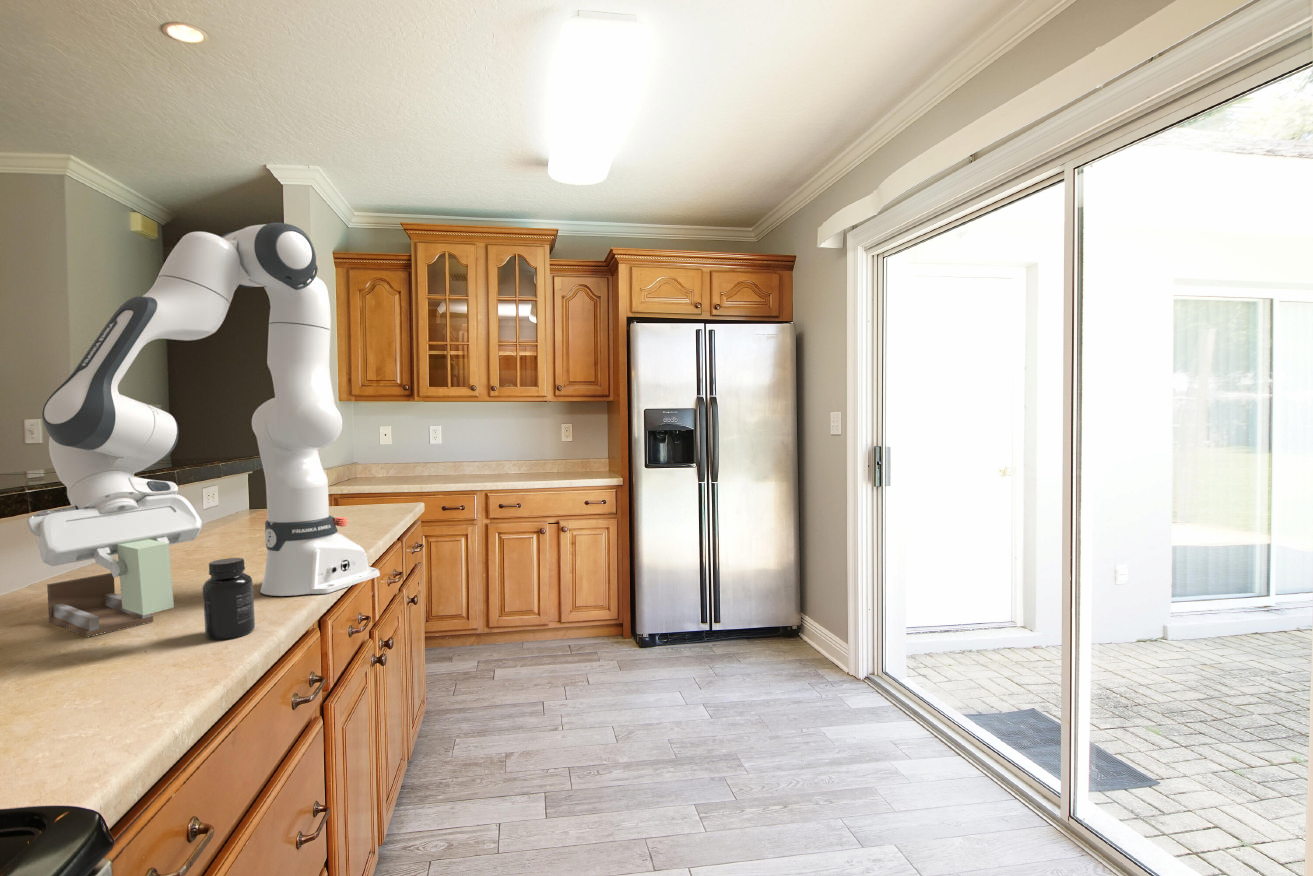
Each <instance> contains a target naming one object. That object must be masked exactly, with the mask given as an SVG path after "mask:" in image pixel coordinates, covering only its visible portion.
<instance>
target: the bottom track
mask: <svg viewBox="0 0 1313 876" xmlns="http://www.w3.org/2000/svg"><path fill="white" fill-rule="evenodd" d="M46 588H47V590H46V591H47V607H48V611H47V612H48V622H49V623H51V622H52V624H54V625H56V626H58V625H60V626H59V627H61V626H62V627H61V628H63V627H65V628H64V629H66V628H67V629H66V630H68V629H70V630H72V631H71V632H73V631H74V632H73V633H75V632H77V633H76V634H78V633H79V634H78V635H80V634H82V635H81V636H83V635H84V636H83V637H85V636H87V637H88V636H93V635H96V634H100V633H104V632H109V633H111V632H110V631H113V632H115V631H114V630H117V631H119V630H118V629H121V630H125V629H124V628H126V629H128V628H127V627H130V628H132V627H131V626H134V627H136V626H135V625H138V626H140V625H139V624H142V625H144V624H143V623H146V624H148V623H147V622H150V623H153V622H154V616H153V615H152V613H150V614H147V615H141V614H138V613H135V612H132V611H129V610H126V609H123V608H122V597H121V594H118V593H116V589H115V577H113V576H112V573H111V572H109V573H104V574H98V575H93V576H87V577H81V578H75V579H70V580H66V581H65V580H63V581H59V582H54V583H47V584H46ZM70 630H69V631H70ZM87 637H86V638H87ZM93 637H94V636H93Z"/></svg>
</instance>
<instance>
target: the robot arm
mask: <svg viewBox="0 0 1313 876" xmlns="http://www.w3.org/2000/svg"><path fill="white" fill-rule="evenodd" d="M318 270H319V269H318V265H317V254H316V250H315V247H314V246H313V242H312V241H311V239H310V237H309V236H308V235H307V233H306V232H305V231H304V230H302V229H301V228H300V227H298V226H296V225H292V224H290V223H284V222H270V223H269V222H268V223H266V224H255V225H250V226H246V227H244V228H242V229H238V230H236V231H230V232H227V233H224V234H223V235H221V236H219V235H217V234H214V233H211V232H207V231H192V232H191V231H190V232H189V233H186V234H185V235H183V236H182V237H181V238H180V240H179V241H178V242H177V243H176V245H175V246H174V248H172V250H171V252H170V253H169V254H168V256H167V258H166V260H165V262H164V263H163V265H162V267H161V269H160V271H159V273H158V276H157V277H156V280H155V282H154V283H153V285H152V287H151V288H150V289H149V290H148V291H147V292H146V293H145V294H143V295H142V296H134V297H131V298H129V299H127V300H126V301H125V302H124V303H122V304H121V305H120V306H119V308H118V309H116V310H115V312H114V313H113V315H112V316H111V317H110V319H109V320H108V321H107V323H106V324H105V326H104V327H103V328H102V329H101V330H100V332H99V334H98V336H97V337H96V339H95V340H94V341H93V343H91V346H89V348H88V350H87V351H86V353H85V354H84V356H83V357H82V359H81V360H80V361H79V363H78V364H77V366H76V367H75V369H73V370H72V373H71V374H70V375H69V377H67V379H66V380H65V381H64V382H63V383H62V384H60V386H59V387H57V389H55V390H54V392H53V393H51V395H50V396H49V397H48V399H47V400H46V402H44V406H43V408H42V421H43V425H44V427H45V430H46V432H47V434H48V435H49V439H48V451H49V457H50V460H51V464H52V465H53V467H54V470H55V473H56V475H57V477H58V479H59V481H60V482H61V483H62V484H63V485H64V486H65V487H66V495H67V499H68V501H69V503H70V506H65V507H60V508H55V509H43V510H39V511H37V512H36V513H35V514H33V515H31V516H30V517H28V519H27V525H28V527H29V531H30V532H31V533H32V534H33V535H34V536H36V537H37V544H38V545H37V546H38V551H39V554H40V555H39V556H40V558H41V560H42V562H43V563H44V564H47V565H49V566H51V567H56V566H62V565H68V564H72V563H77V562H78V563H79V562H83V561H89V560H93V559H94V561H95V564H98V565H99V566H100V567H103V568H105V569H107V570H108V571H110V573H112V576H113V577H114V578H118V577H120V576H123V575H126V572H127V571H128V568H127V566H126V565H125V564H126V563H125V561H124V560H122V561H118V559H115V558H114V557H112V556H115V555H118V550H117V544H123V543H128V542H134V541H140V540H145V539H150V540H155V541H160V542H165V543H169V546H170V545H173V544H174V545H175V544H179V543H185V542H190V541H193V540H196V539H197V537H198V535H199V533H200V532H201V529H202V527H203V522H202V519H201V517H200V516H199V514H198V513H197V510H196V509H195V507H193V505H192V504H191V502H190V501H189V500H188V499H187V498H186V497H184V496H182V495H180V494H178V491H179V488H178V485H177V484H176V483H175V482H173V481H167V480H156V479H148V478H143V477H138V476H135V474H138V473H141V472H143V471H145V470H147V469H149V468H150V467H152V466H154V465H155V464H157V463H159V462H160V461H162V460H164V458H166V457H167V456H169V455H170V454H171V453H172V452H173V450H174V449H175V447H176V445H177V443H178V440H179V426H178V422H177V420H176V419H175V417H174V416H173V415H172V414H171V413H169V412H167V411H165V410H163V409H160V408H158V407H155V406H153V405H150V404H148V403H145V402H144V401H143V402H142V401H139V400H136V399H133V398H130V397H128V396H125V395H124V394H120V392H119V384H120V382H121V381H122V379H123V377H124V376H125V374H126V373H127V371H128V369H129V368H130V366H131V365H132V364H133V362H134V361H135V359H136V358H137V356H138V355H139V353H140V351H141V350H142V349H143V348H144V346H145V345H147V344H148V343H150V342H152V341H155V340H160V339H161V340H162V339H163V340H166V339H167V340H173V341H174V340H176V341H196V340H201V339H204V338H207V337H209V336H211V335H213V334H215V333H216V332H217V331H218V329H219V328H220V327H221V326H222V324H223V322H224V320H225V319H226V316H227V313H228V311H229V308H230V307H231V302H232V300H233V298H234V294H235V291H236V290H237V288H239V287H240V288H247V289H248V288H254V287H255V288H257V287H260V288H261V287H263V289H264V290H265V292H266V294H267V296H268V298H269V299H268V300H269V305H270V306H269V307H270V309H269V318H268V337H267V357H266V360H267V361H266V363H267V367H268V369H269V372H270V375H271V378H272V384H273V391H274V397H273V398H270V399H269V400H268V399H267V400H266V401H264V402H263V403H262V404H261V405H259V406H258V407H257V408H256V409H255V411H254V413H253V414H252V418H251V428H252V431H253V433H254V434H255V437H256V441H257V447H258V452H259V456H260V457H259V458H260V460H261V464H262V468H263V473H264V479H265V491H266V515H267V516H266V517H267V519H266V521H265V522H264V523H265V524H264V534H265V535H264V536H265V537H264V538H265V539H264V540H265V545H266V547H265V548H266V549H267V550H266V551H267V552H266V562H265V569H264V575H263V580H262V584H261V586H260V591H259V592H260V593H262V595H267V596H274V597H275V596H277V597H285V596H289V597H290V596H301V595H311V594H312V595H317V594H318V595H321V594H329V593H333V592H336V591H338V590H343V589H344V588H347V587H350V586H354V585H356V584H359V583H362V582H365V581H368V580H372V579H374V578H377V577H380V575H381V574H380V570H379V569H378V568H375V567H372V566H369V561H368V555H367V553H366V551H365V549H364V548H363V547H362V545H359V544H358V543H356V542H354V541H352V540H351V539H349V538H348V537H346V536H345V535H343V534H342V533H340V532H338V528H337V527H342V528H344V527H346V526H347V524H348V523H349V520H348V518H347V517H346V516H345V517H344V516H343V517H342V516H337V517H334V516H332V515H330V507H329V506H330V503H329V479H328V475H327V474H326V472H325V471H324V468H323V466H322V462H321V459H320V455H319V451H318V450H321V449H323V448H327V447H329V446H331V445H332V444H333V443H334V442H336V440H337V439H338V438H339V437H340V435H341V433H342V430H343V417H342V415H341V414H342V413H340V411H339V409H338V408H337V405H336V402H335V401H336V400H335V395H334V390H333V384H332V379H331V371H330V370H331V369H330V367H331V366H330V356H331V354H330V352H331V335H332V334H331V330H332V329H331V328H332V317H331V316H332V313H331V303H330V295H329V291H328V287H327V285H326V283H325V282H324V281H323V280H322V279H320V278H319V277H317V274H318Z"/></svg>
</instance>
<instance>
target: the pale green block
mask: <svg viewBox="0 0 1313 876" xmlns="http://www.w3.org/2000/svg"><path fill="white" fill-rule="evenodd" d="M117 550H118V554H117V561H122V560H124V561H125V563H126V564H125V565H126V566H127V568H128V571H127V572H126V575H123V576H119V585H120V595H121V597H122V608H123V609H126V610H129V611H132V612H135V613H138V614H141V615H147V614H150V613H151V614H154V613H158V612H162V611H165V610H166V611H167V610H168V609H173V608H174V609H175V607H174V606H175V605H174V590H173V581H172V567H171V556H170V555H171V553H170V545H169V543H165V542H160V541H155V540H150V539H145V540H140V541H134V542H128V543H123V544H117Z"/></svg>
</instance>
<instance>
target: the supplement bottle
mask: <svg viewBox="0 0 1313 876" xmlns="http://www.w3.org/2000/svg"><path fill="white" fill-rule="evenodd" d="M208 570H209V571H208V575H210V578H208V579H207V580H206V581H204V583H203V584H202V597H203V598H202V599H203V600H202V602H203V615H204V616H203V618H204V620H203V621H204V631H205V634H204V635H205V636H206V638H208V639H209V640H212V641H224V640H230V639H232V640H233V639H235V638H236V639H237V638H239V637H243V636H246V635H249V634H250V633H252V632H253V631H254V629H255V628H256V625H255V622H256V620H255V619H256V616H255V601H254V599H255V598H254V586H253V585H254V584H253V579H252V577H251V575H249V574H247V573H245V572H244V571H245V570H246V567H245V559H244V558H243V557H229V558H220V559H215V560H213V561H211V562H209V563H208Z"/></svg>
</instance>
